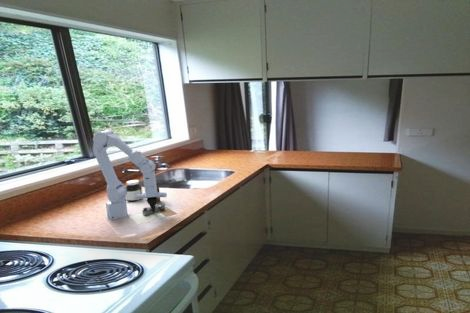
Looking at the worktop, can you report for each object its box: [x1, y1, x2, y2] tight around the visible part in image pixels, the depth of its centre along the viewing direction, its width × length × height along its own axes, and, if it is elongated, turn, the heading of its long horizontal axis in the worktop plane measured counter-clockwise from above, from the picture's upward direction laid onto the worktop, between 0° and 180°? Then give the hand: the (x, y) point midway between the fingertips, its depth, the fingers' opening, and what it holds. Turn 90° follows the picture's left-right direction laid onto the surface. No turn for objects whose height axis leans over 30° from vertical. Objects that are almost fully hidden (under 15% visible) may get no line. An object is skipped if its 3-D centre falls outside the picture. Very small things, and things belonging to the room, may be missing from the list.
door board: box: [129, 206, 178, 225], centre depth 160 cm, size 20×13×1 cm, turn 125°
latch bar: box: [141, 203, 166, 216], centre depth 163 cm, size 12×3×3 cm, turn 132°
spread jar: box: [125, 179, 144, 203], centre depth 188 cm, size 12×11×12 cm
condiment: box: [156, 181, 161, 205], centre depth 179 cm, size 7×8×12 cm
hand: (153, 211), depth 160 cm, fingers closed, pressing on latch bar
